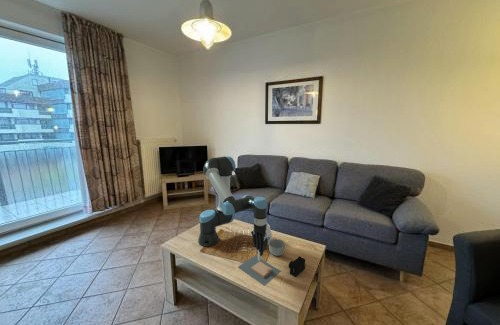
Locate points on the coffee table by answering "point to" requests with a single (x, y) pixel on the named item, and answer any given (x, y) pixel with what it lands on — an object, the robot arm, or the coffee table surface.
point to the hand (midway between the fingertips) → (259, 259)
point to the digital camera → (297, 266)
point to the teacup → (276, 247)
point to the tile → (261, 269)
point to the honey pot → (268, 233)
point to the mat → (247, 269)
